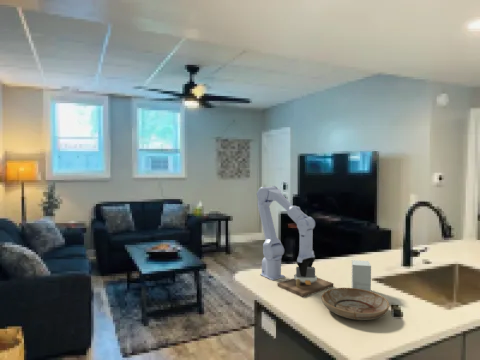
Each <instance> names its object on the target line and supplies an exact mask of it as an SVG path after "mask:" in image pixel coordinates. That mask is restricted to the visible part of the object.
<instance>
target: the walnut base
mask: <svg viewBox="0 0 480 360" xmlns="http://www.w3.org/2000/svg"><path fill="white" fill-rule="evenodd" d="M277 287H278V288H281V289H283V290H285V291H288V292H289V293H292V294H295V295H296V296H299V297H301V298H303V297H307V296H310V295H313V294H315V293H319V292H322V291H324V290H327V289H328V290H329V289H330V288H331V289H332V288H333V287H334V283H333V282H331V281H328V280H325V279H322V278H319V277H317V281H315V282H312V283H311V285H306V283H304V282H300V279H296V280H295V279H294V277H293V278H290V279H287V280H284V281H279V282H277Z"/></svg>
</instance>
